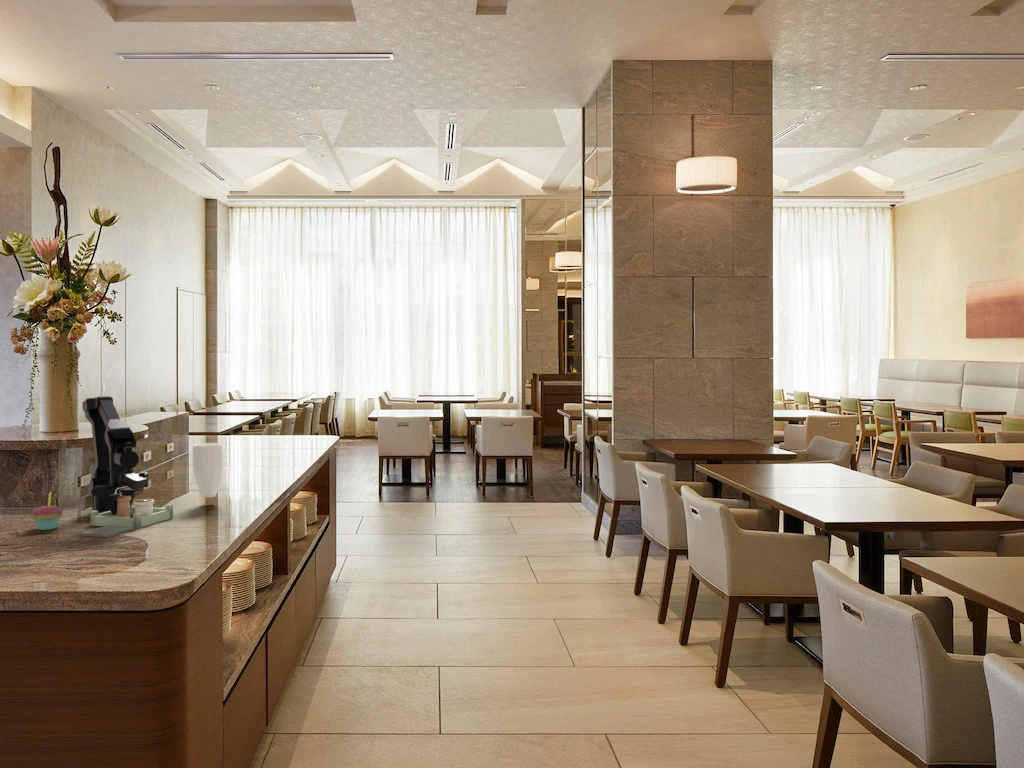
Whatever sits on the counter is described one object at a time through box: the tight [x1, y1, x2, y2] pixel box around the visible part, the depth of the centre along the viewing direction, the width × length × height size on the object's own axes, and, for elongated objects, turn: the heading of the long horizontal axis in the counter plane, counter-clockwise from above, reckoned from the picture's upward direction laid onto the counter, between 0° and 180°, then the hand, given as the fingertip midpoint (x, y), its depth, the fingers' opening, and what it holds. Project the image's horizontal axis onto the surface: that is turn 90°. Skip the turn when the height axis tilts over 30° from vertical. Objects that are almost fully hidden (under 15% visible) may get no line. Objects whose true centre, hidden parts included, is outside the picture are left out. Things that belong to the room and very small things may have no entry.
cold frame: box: [89, 503, 174, 529], centre depth 256 cm, size 18×16×4 cm
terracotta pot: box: [112, 494, 131, 518], centre depth 257 cm, size 6×6×7 cm
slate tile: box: [80, 526, 134, 538], centre depth 241 cm, size 10×10×1 cm
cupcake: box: [29, 490, 63, 531], centre depth 247 cm, size 9×8×12 cm
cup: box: [192, 442, 224, 498], centre depth 283 cm, size 10×10×22 cm
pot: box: [132, 498, 155, 517], centre depth 255 cm, size 6×6×7 cm
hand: (121, 513), depth 258 cm, fingers closed on terracotta pot, 5 cm apart
